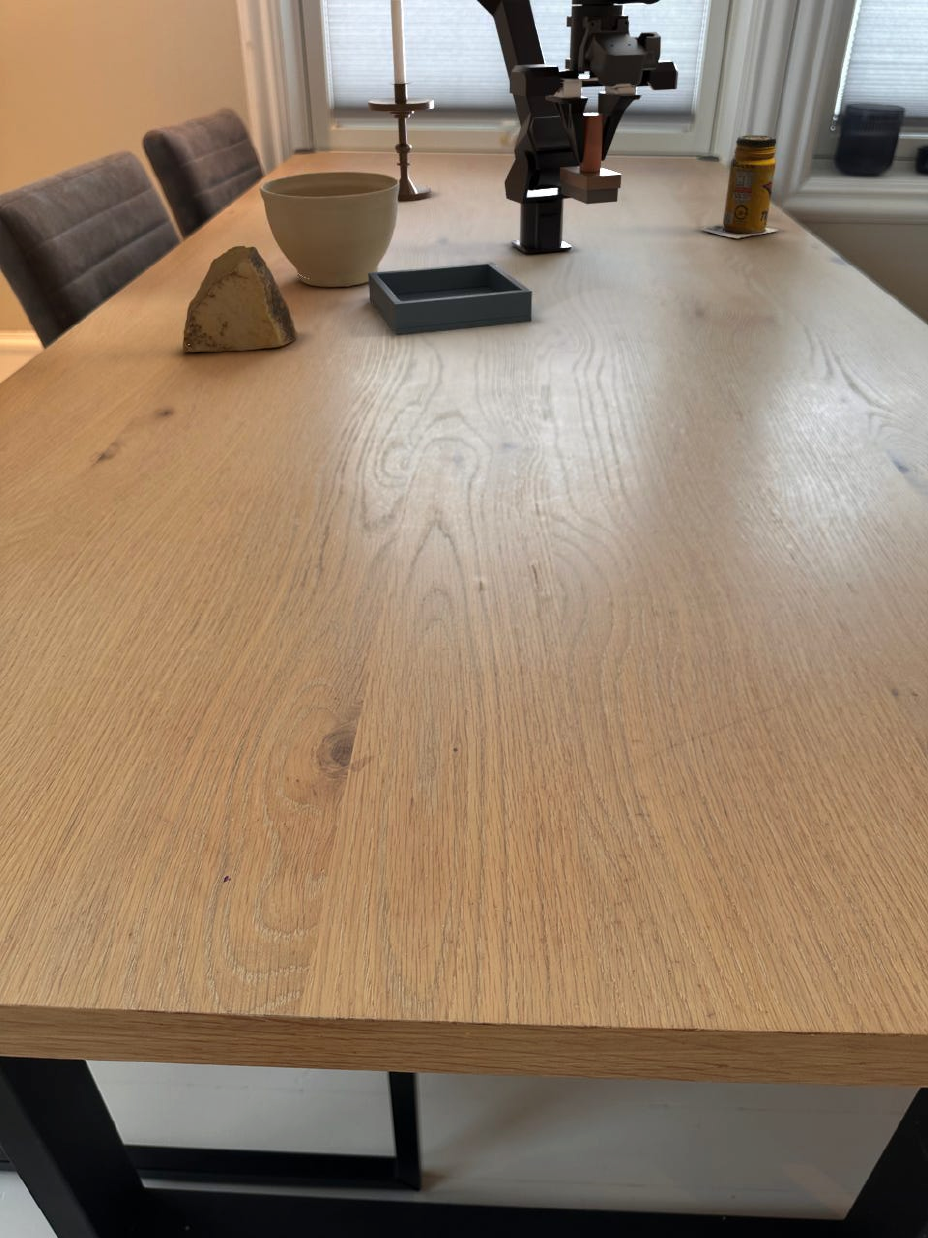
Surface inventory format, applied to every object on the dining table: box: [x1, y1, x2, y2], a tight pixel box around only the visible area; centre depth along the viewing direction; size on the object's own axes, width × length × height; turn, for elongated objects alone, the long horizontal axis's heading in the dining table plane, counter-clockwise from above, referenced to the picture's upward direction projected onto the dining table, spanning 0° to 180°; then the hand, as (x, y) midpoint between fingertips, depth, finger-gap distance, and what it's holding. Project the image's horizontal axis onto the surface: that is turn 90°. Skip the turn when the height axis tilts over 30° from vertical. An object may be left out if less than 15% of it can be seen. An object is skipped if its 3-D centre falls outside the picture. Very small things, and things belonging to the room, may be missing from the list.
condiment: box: [699, 134, 779, 239], centre depth 131 cm, size 7×8×12 cm
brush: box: [560, 112, 622, 205], centre depth 112 cm, size 8×4×9 cm, turn 18°
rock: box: [182, 245, 299, 353], centre depth 93 cm, size 11×9×10 cm
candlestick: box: [367, 0, 435, 202], centre depth 153 cm, size 11×11×35 cm
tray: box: [368, 261, 533, 336], centre depth 102 cm, size 14×15×3 cm
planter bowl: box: [259, 171, 400, 288], centre depth 113 cm, size 16×16×11 cm
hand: (589, 161), depth 112 cm, fingers closed on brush, 2 cm apart
